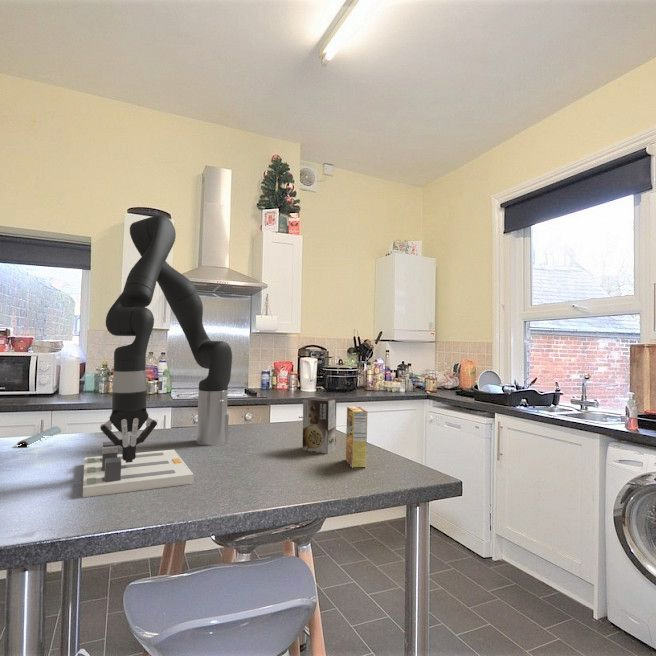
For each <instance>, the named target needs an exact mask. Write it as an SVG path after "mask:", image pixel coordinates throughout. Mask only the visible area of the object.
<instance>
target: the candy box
mask: <svg viewBox="0 0 656 656" xmlns="http://www.w3.org/2000/svg"><path fill="white" fill-rule="evenodd" d="M345 430H346V431H345V433H346V436H345V438H346V439H345V461H346V462H347V464H348V465H349V464H350V465H349V467H352V468H351V469H354V468H353V467H366V465H367V437H368V411H367V410H365V409H363V408H362V407H360V406H347V407H346V429H345Z"/></svg>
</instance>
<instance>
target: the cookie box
mask: <svg viewBox="0 0 656 656" xmlns="http://www.w3.org/2000/svg"><path fill="white" fill-rule="evenodd" d="M336 446H337V398H333V397H332V398H331V397H316V396H315V397H313V396H312V397H307V398H304V399H302V448H301V449H302V451H305V450H308V452H312V451H316V452H315V453H319V452H322V453H321V454H326V453H329V454H331V453H332V452H331V451H333V450H335V449H337V447H336ZM335 451H336V450H335ZM330 452H331V453H330ZM333 452H334V451H333Z"/></svg>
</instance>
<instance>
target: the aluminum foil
mask: <svg viewBox="0 0 656 656" xmlns="http://www.w3.org/2000/svg"><path fill="white" fill-rule="evenodd" d="M59 433H62V429H61V428H60V427H59V426H53V427H50V428H48V429H46V430H44V431H41V432H38V433H37V434H34V435H31V436H30V437H29V436H28V437H27V438H24V439H22V440H19V441H18V442H17V443H16V445H20V444H23V443H25V445H26V446H27V445H30V444H32V443H34V442H36V441H38V440H41V438H45V437H43V436H52V437H54V436H56V435H57V434H59Z"/></svg>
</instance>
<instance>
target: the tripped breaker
mask: <svg viewBox="0 0 656 656" xmlns="http://www.w3.org/2000/svg"><path fill="white" fill-rule="evenodd" d="M101 452H102V453H101V454H102V455H101V456H102V470H105V459H107V458H117V455H118V453H119V449H118V446H112V447H103V446H102V447H101Z"/></svg>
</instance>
